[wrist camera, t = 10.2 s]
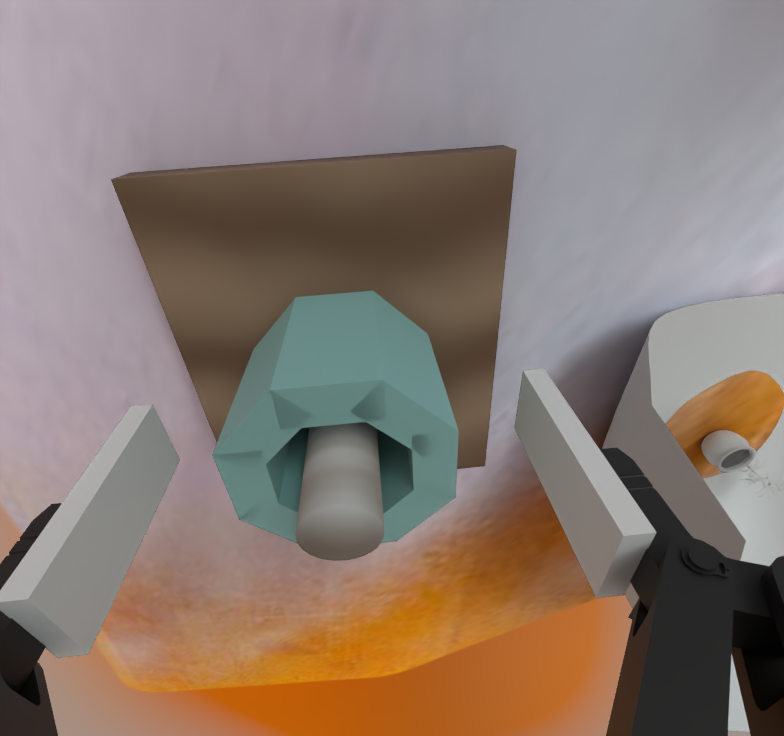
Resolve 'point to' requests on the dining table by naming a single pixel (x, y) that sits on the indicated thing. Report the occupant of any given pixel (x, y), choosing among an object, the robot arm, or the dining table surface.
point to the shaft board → (332, 289)
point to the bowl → (721, 448)
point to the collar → (340, 411)
